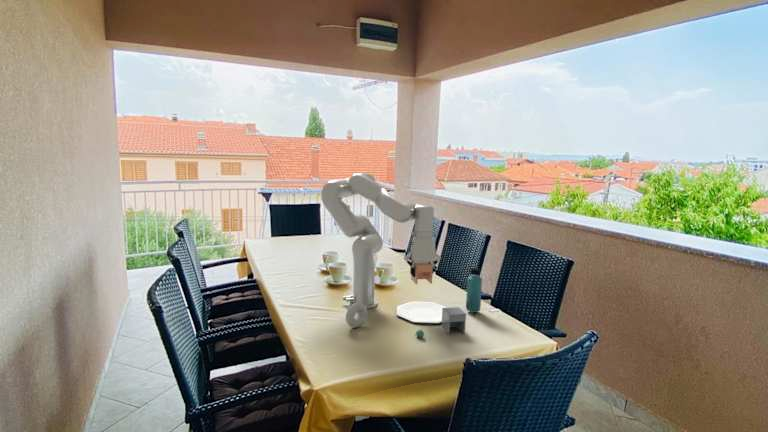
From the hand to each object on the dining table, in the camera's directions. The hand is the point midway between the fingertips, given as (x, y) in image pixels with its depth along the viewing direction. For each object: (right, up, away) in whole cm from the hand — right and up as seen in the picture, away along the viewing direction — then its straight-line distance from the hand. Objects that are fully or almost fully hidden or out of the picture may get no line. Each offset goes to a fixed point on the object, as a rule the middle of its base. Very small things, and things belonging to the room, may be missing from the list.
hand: (421, 275), depth 169 cm
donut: (-27, -19, -12) cm, 35 cm away
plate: (+1, -18, +4) cm, 18 cm away
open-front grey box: (+11, -20, -12) cm, 26 cm away
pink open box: (0, -3, 0) cm, 3 cm away
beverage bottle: (+23, -18, +7) cm, 30 cm away
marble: (-3, -20, -19) cm, 28 cm away
